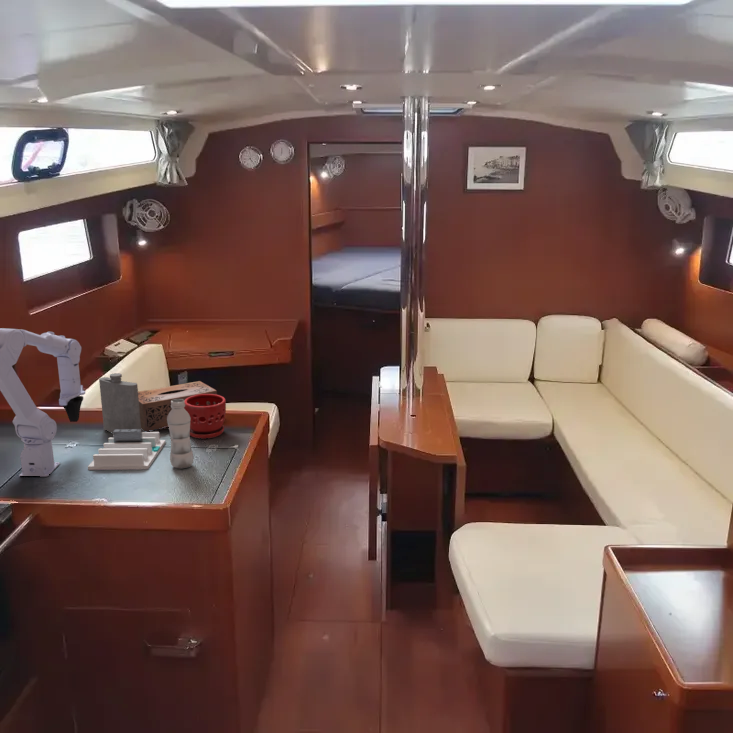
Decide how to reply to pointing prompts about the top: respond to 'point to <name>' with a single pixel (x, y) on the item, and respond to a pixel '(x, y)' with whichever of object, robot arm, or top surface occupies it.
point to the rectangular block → (127, 436)
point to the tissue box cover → (166, 402)
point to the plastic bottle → (180, 435)
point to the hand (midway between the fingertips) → (74, 421)
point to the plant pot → (206, 415)
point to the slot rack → (128, 453)
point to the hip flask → (119, 403)
